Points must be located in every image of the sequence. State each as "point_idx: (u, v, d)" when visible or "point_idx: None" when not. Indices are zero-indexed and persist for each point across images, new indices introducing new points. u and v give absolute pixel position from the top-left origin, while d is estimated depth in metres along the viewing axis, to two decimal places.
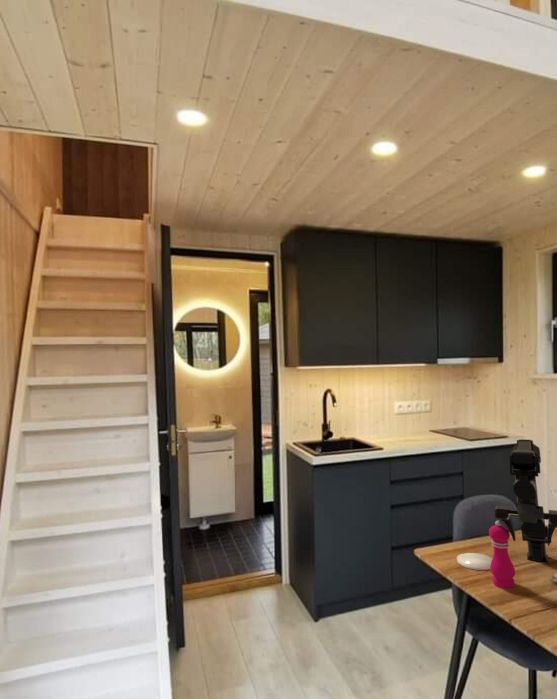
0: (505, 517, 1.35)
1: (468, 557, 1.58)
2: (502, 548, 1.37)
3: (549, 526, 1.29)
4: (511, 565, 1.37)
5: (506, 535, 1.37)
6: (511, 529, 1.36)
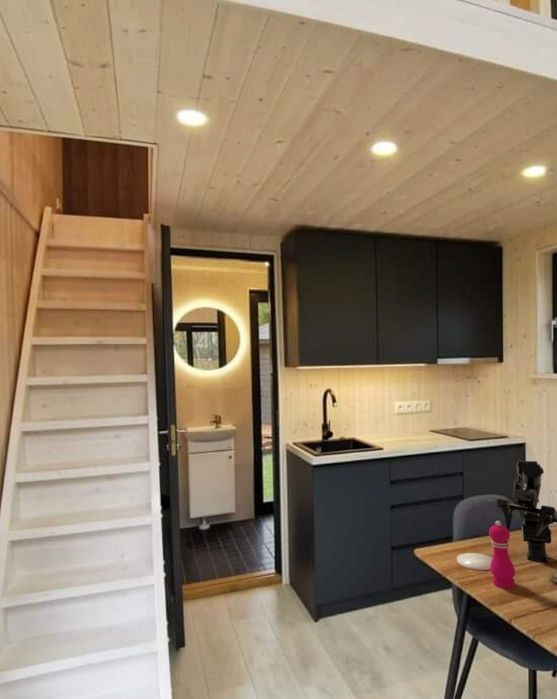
0: (504, 503, 1.54)
1: (468, 557, 1.58)
2: (502, 548, 1.37)
3: (540, 514, 1.45)
4: (511, 565, 1.37)
5: (507, 535, 1.37)
6: (507, 517, 1.52)
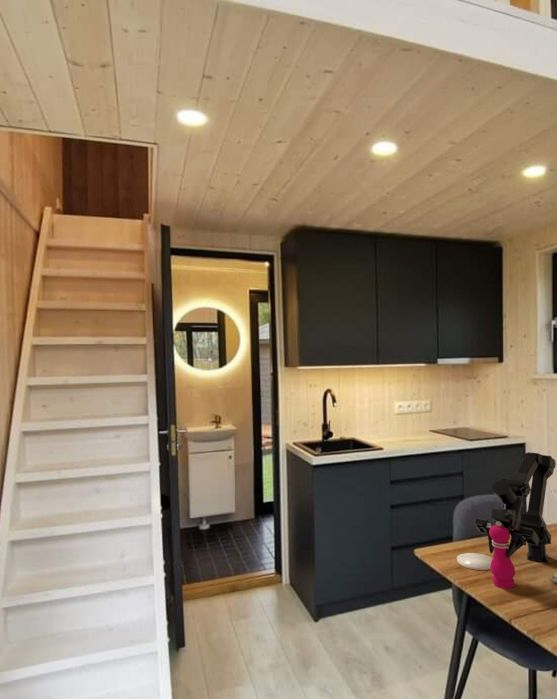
0: (482, 523, 1.46)
1: (468, 557, 1.58)
2: (502, 548, 1.37)
3: (511, 534, 1.38)
4: (511, 565, 1.36)
5: (507, 536, 1.37)
6: (490, 539, 1.42)
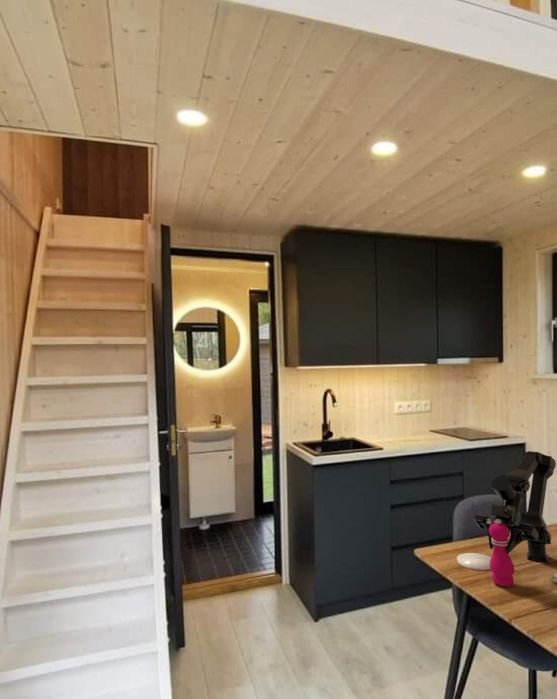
0: (481, 519, 1.46)
1: (468, 557, 1.58)
2: (502, 546, 1.37)
3: (511, 530, 1.38)
4: (511, 563, 1.37)
5: (507, 533, 1.37)
6: (490, 535, 1.42)
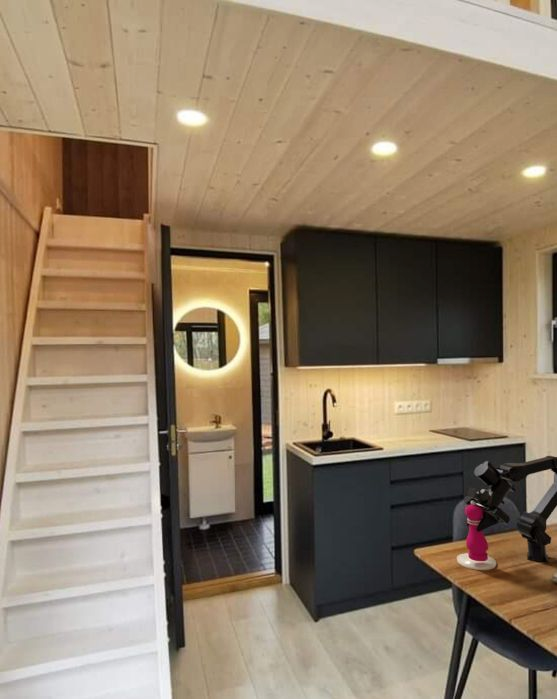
0: (467, 500, 1.60)
1: (468, 557, 1.58)
2: (473, 524, 1.51)
3: (483, 512, 1.50)
4: (482, 541, 1.50)
5: (476, 514, 1.50)
6: None
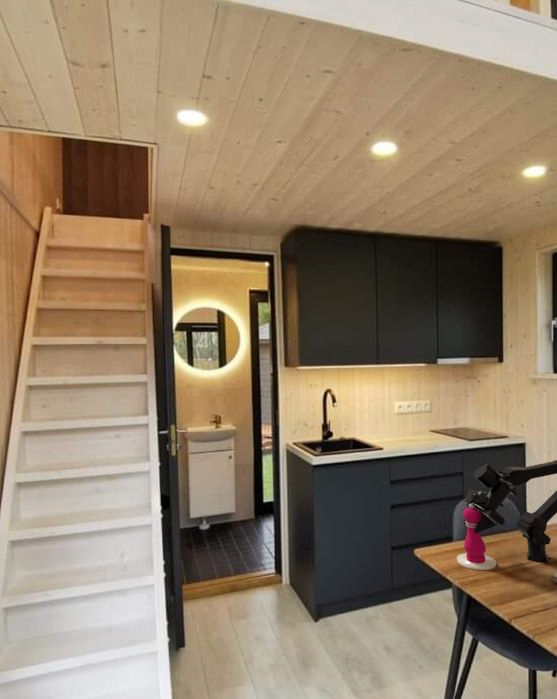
0: (468, 502, 1.63)
1: None
2: (470, 527, 1.55)
3: (481, 514, 1.53)
4: (478, 544, 1.53)
5: (473, 517, 1.54)
6: None
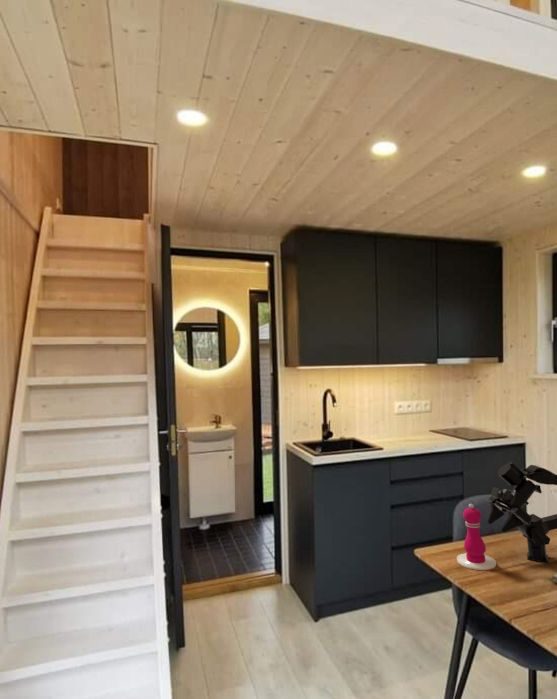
0: (492, 500, 1.64)
1: None
2: (470, 527, 1.55)
3: (508, 512, 1.52)
4: (478, 544, 1.53)
5: (473, 517, 1.54)
6: (491, 513, 1.62)
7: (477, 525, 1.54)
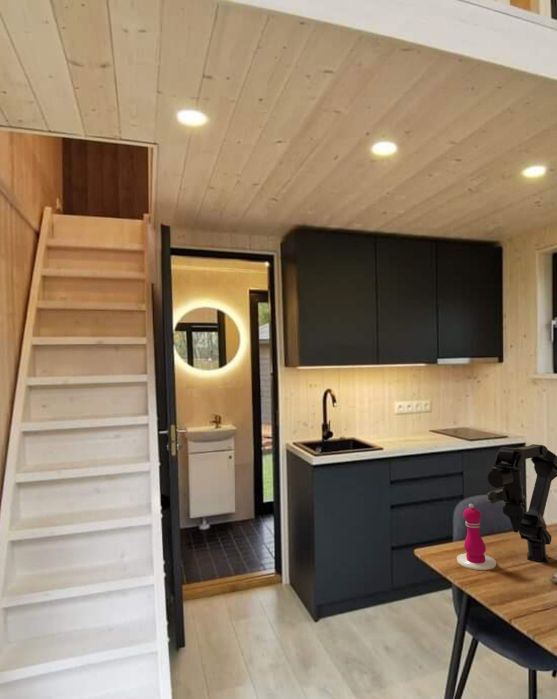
0: None
1: None
2: (470, 527, 1.55)
3: None
4: (478, 544, 1.53)
5: (473, 517, 1.54)
6: None
7: (477, 525, 1.54)
